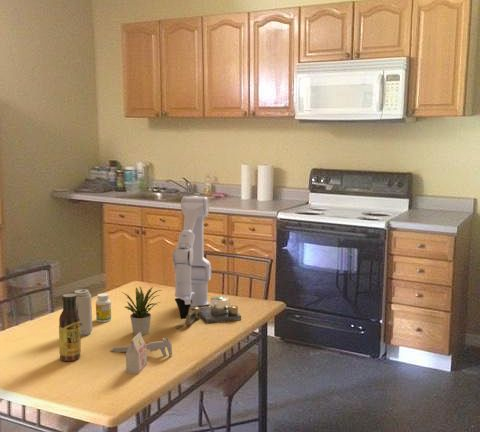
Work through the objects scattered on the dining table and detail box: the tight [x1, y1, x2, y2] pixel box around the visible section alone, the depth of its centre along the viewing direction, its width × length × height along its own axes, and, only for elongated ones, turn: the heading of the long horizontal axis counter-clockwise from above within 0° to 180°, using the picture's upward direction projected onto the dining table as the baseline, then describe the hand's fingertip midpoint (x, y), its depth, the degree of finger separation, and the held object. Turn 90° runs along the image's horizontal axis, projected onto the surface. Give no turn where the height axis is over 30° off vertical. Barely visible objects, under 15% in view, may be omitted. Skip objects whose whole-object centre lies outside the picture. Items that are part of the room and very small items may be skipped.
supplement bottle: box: [95, 292, 112, 323], centre depth 211 cm, size 5×5×10 cm
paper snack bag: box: [125, 332, 148, 375], centre depth 168 cm, size 4×7×10 cm, turn 169°
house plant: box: [121, 285, 163, 336], centre depth 197 cm, size 14×14×16 cm
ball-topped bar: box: [185, 306, 201, 325], centre depth 209 cm, size 11×4×4 cm, turn 169°
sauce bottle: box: [58, 293, 82, 362], centre depth 175 cm, size 6×6×20 cm
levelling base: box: [176, 295, 242, 330], centre depth 213 cm, size 17×25×7 cm
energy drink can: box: [73, 288, 93, 337], centre depth 197 cm, size 6×6×15 cm
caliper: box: [109, 336, 173, 358], centre depth 180 cm, size 20×1×6 cm, turn 77°
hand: (183, 318), depth 208 cm, fingers closed
